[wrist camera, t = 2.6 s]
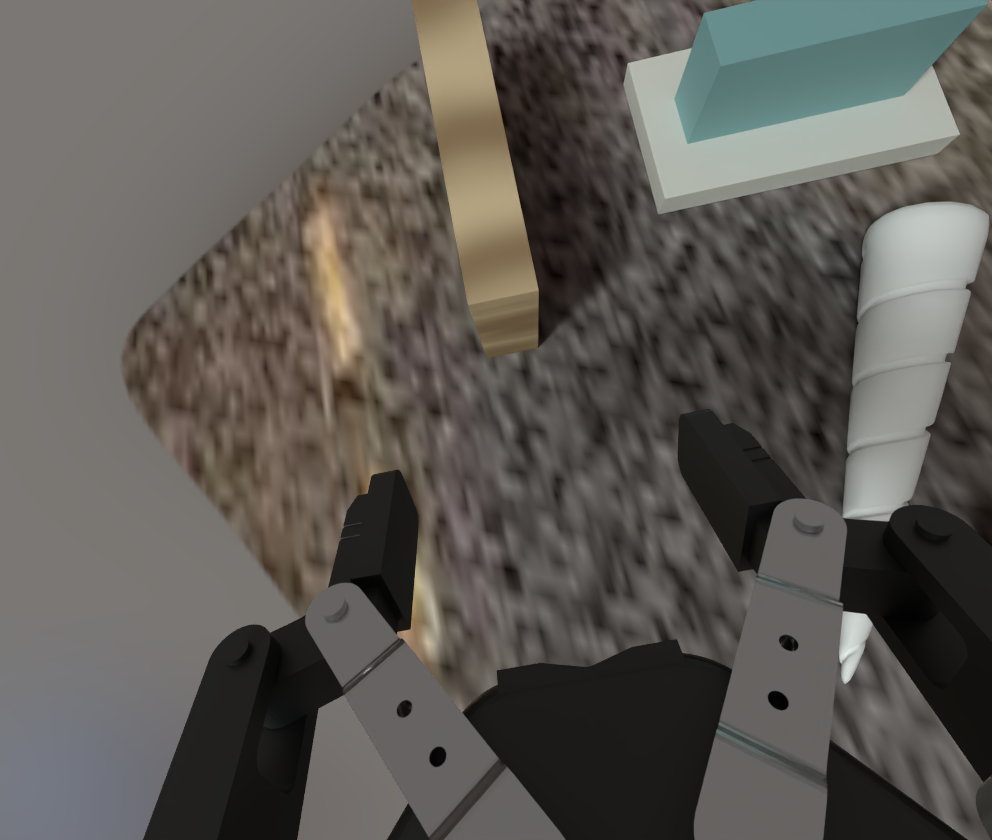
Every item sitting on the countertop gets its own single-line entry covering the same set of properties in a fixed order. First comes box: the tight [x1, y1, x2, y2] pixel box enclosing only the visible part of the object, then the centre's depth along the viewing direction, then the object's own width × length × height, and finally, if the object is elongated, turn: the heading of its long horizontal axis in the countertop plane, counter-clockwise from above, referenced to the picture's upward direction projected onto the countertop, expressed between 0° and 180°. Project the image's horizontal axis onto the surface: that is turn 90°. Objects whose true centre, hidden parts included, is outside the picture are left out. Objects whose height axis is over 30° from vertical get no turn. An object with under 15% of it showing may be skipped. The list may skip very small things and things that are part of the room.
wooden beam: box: [412, 0, 539, 358], centre depth 25 cm, size 16×3×8 cm, turn 11°
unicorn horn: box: [839, 202, 989, 684], centre depth 23 cm, size 5×24×5 cm, turn 164°
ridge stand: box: [623, 0, 987, 214], centre depth 25 cm, size 16×9×6 cm, turn 101°
